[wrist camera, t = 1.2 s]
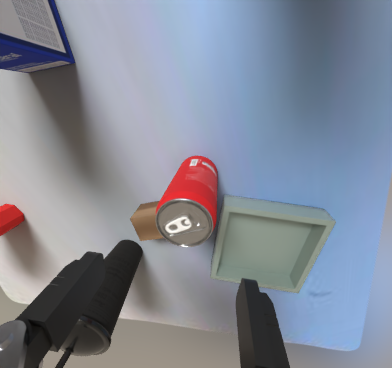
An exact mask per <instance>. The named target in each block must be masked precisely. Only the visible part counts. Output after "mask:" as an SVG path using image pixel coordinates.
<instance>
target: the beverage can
mask: <svg viewBox="0 0 392 368" xmlns="http://www.w3.org/2000/svg"><path fill="white" fill-rule="evenodd" d="M217 177H218V174H217V169H216V166H215V165H214V163H213V162H212V161H211V160H209V159H208V158H206V157H203V156H192V157H190V158H188V159H186V160H185V161H184V162H183V163H182V164H181V166H180V168H179V169H178V171H177V173H176V175H175V176H174V178H173V180H172V181H171V183H170V185H169V186H168V188H167V190H166V191H165V193H164V195H163V197H162V198H161V200H160V202H159V203H158V205H157V208H156V218H155V222H156V227H157V229H158V231H159V233H160V234H161V236H162V237H163V238H164V239H166V240H167V241H169V242H170V243H172V244H174V245H177V246H180V247H193V246H197V245H200V244H202V243H204V242H205V241H206V240H207V239H208V238H209V237H210V235H211V233H212V231H213V230H214V228H215V225H216V219H217Z"/></svg>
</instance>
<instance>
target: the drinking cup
mask: <svg viewBox="0 0 392 368" xmlns="http://www.w3.org/2000/svg"><path fill="white" fill-rule="evenodd" d="M141 256H142V249H141V247H140V246H139V245H138V244H137V243H136V242H134V241H131V240H122V241H120V242H119V243H118V244H117V245H116V246H115V248H114V249H113V250H112V251H111V252H110V253H109V254H108V255H107V257H106V258H105V259H104V265H105V271H106V273H105V278H104V280H103V282H102V284H101V286H100V287H99V289H98V290H97V292H96V293H95V295H94V296H93V298H92V300H91V301H90V303H89V304H88V306H87V307H86V309H85V310H84V312H83V314H82V315H81V317H80V318H79V320H78V321H77V323H76V324H75V326H74V328H73V329H72V331H71V332H70V334H69V335H68V337H67V338H66V340H65V341H64V343H63V345H62V346H61V348H60V349H61V350H62V351H64V354H63V356H62V357H61V359H60V361H59V362H58V364H57V365H56V367H55V368H63V366H64V365H65V363H66V361H67V360H68V358H69V356H70V355H75V356H89V355H97V354H102V353H104V352H106V351H107V350H108V348H109V346H110V344H111V335H112V333H113V330H114V327H115V325H116V322H117V319H118V317H119V314H120V312H121V309H122V306H123V304H124V301H125V298H126V296H127V293H128V291H129V288H130V285H131V283H132V280H133V277H134V275H135V272H136V269H137V267H138V264H139V262H140V259H141Z"/></svg>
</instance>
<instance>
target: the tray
mask: <svg viewBox="0 0 392 368" xmlns="http://www.w3.org/2000/svg"><path fill="white" fill-rule="evenodd" d="M335 223H336V221H335V220H334V219H333V218H332V217H331V216H330V215H329V214H328V213H327V212H326V211H325V210H324V209H322V208H315V207H308V206H301V205H294V204H287V203H280V202H273V201H266V200H258V199H251V198H244V197H237V196H230V195H224V197H223V203H222V208H221V213H220V219H219V224H218V229H217V235H216V240H215V245H214V251H213V256H212V261H211V275H210V278H212V279H217V280H223V281H229V282H235V283H241V279H242V278H246V279H252V280H256V281H257V283H258V287H264V288H270V289H275V290H281V291H287V292H293V293H299V291H300V289H301V287H302V285H303V283H304V282H305V280H306V278H307V276H308V274H309V272H310V270H311V268H312V266H313V264H314V263H315V261H316V259H317V257H318V255H319V253H320V251H321V249H322V247H323V245H324V244H325V242H326V240H327V238H328V236H329V234H330V232H331V230H332V228H333V226H334V225H335Z"/></svg>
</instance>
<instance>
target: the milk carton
mask: <svg viewBox="0 0 392 368" xmlns="http://www.w3.org/2000/svg"><path fill="white" fill-rule="evenodd" d="M73 63H75V61H74V58H73V55H72V52H71V49H70V46H69V43H68V40H67V37H66V34H65V31H64V28H63V25H62V22H61V19H60V16H59V13H58V11H57V8H56V5H55V2H54V0H0V69H5V70H12V71H19V72H26V73H30V72H34V71H39V70H44V69H49V68H54V67H59V66H64V65H68V64H73Z"/></svg>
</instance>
